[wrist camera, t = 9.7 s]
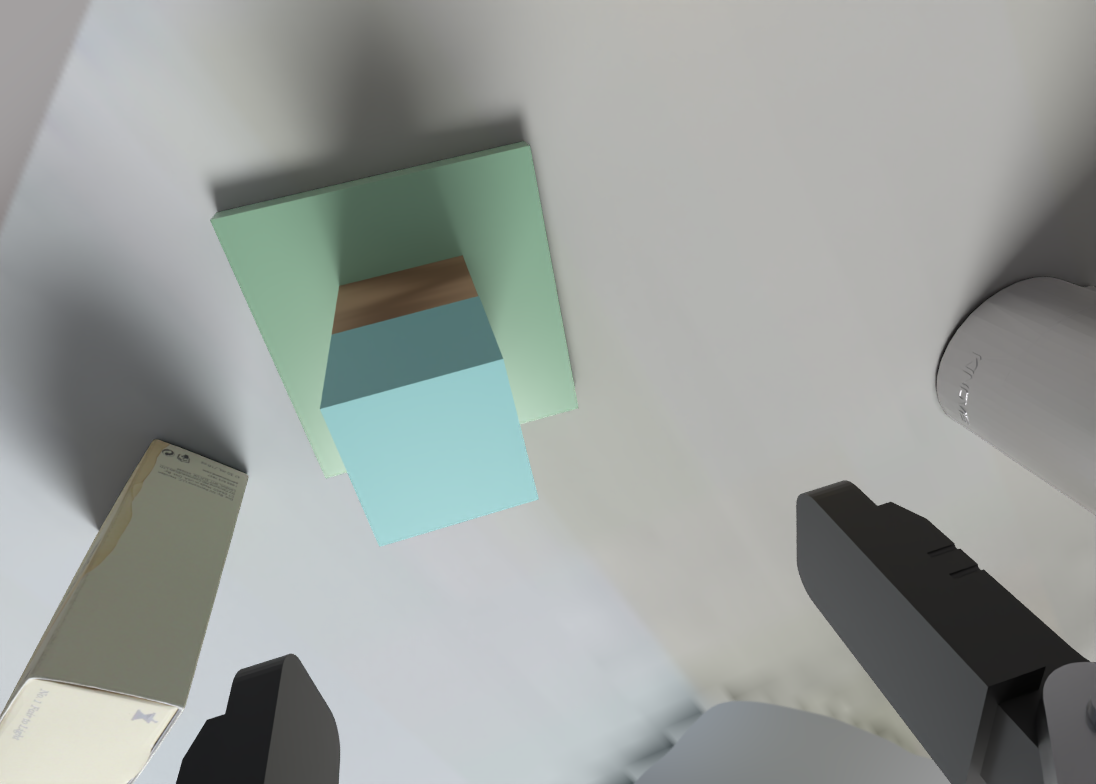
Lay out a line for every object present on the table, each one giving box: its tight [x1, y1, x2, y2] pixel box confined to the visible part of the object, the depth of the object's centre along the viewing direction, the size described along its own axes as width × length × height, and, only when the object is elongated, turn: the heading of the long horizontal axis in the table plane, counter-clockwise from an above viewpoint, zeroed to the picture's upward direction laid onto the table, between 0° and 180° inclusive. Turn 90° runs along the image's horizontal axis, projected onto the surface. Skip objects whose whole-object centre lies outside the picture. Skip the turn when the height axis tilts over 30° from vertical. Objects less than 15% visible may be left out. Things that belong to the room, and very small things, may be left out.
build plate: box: [210, 141, 578, 478], centre depth 28 cm, size 12×12×1 cm
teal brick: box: [320, 296, 538, 547], centre depth 21 cm, size 5×5×5 cm
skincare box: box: [0, 439, 248, 784], centre depth 25 cm, size 6×4×12 cm
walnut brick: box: [331, 255, 478, 335], centre depth 25 cm, size 5×5×5 cm
